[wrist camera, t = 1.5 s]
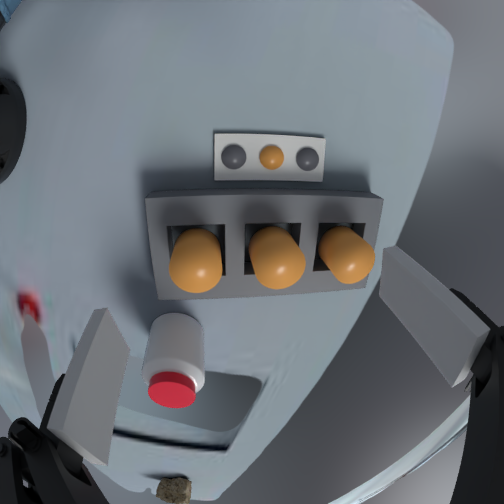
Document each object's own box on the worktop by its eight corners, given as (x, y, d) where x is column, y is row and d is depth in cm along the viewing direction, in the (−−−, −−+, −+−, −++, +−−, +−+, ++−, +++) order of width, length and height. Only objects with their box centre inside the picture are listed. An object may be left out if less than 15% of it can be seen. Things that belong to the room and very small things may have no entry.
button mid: (248, 268, 31) (253, 290, 27) (249, 226, 29) (255, 243, 25) (291, 266, 32) (302, 287, 28) (295, 225, 30) (308, 242, 26)
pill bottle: (184, 359, 40) (182, 419, 30) (141, 335, 37) (127, 395, 27) (215, 330, 38) (219, 393, 28) (169, 302, 35) (158, 365, 25)
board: (161, 286, 34) (158, 300, 31) (151, 191, 28) (144, 198, 26) (355, 276, 37) (365, 287, 34) (370, 192, 32) (383, 198, 29)
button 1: (315, 265, 32) (329, 285, 28) (321, 225, 30) (337, 241, 26) (352, 263, 33) (369, 282, 29) (359, 225, 31) (379, 240, 27)
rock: (195, 499, 64) (190, 507, 55) (160, 495, 63) (152, 502, 55) (193, 473, 70) (188, 480, 61) (158, 469, 69) (149, 475, 61)
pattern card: (214, 179, 29) (214, 180, 28) (214, 133, 27) (214, 133, 26) (321, 181, 31) (322, 182, 30) (324, 138, 28) (326, 138, 28)
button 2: (176, 271, 30) (171, 293, 26) (172, 228, 28) (166, 246, 24) (221, 269, 31) (223, 292, 27) (220, 227, 29) (221, 244, 25)
